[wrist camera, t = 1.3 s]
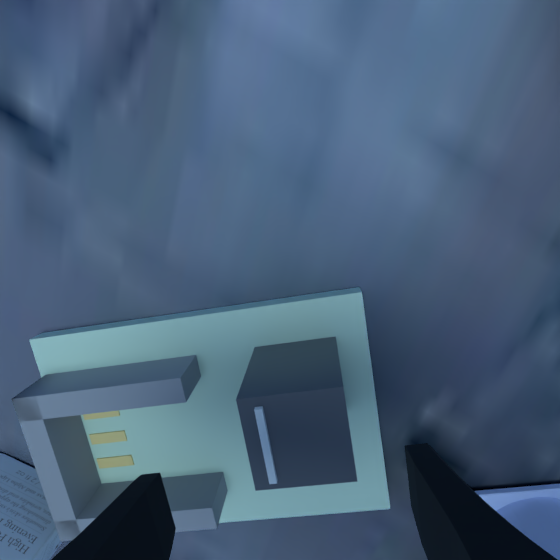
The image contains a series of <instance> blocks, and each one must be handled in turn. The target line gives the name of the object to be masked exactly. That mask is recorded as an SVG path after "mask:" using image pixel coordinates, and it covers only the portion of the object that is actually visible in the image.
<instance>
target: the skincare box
mask: <svg viewBox="0 0 560 560" xmlns="http://www.w3.org/2000/svg"><path fill="white" fill-rule="evenodd" d="M61 543H62V541H60V538H59V535H58V532H57V530H56V527H55V524H54V521H53V518H52V515H51V512H50V509H49V506H48V503H47V501H46V498H45V495H44V492H43V489H42V486H41V483H40V480H39V477H38V474H37V472H36V469H34V468H32V467H30V466H28V465H26V464H24V463H22V462H20V461H18V460H16V459H14V458H12V457H10V456H7V455H5V454H2V453H0V560H49V559H50V558H51V557H52V555H53V554H54V553H55V551H56V550H57V549H58V547H59V546H60V545H61Z"/></svg>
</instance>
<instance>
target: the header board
mask: <svg viewBox="0 0 560 560" xmlns="http://www.w3.org/2000/svg"><path fill="white" fill-rule="evenodd" d="M335 336H336V341H337V348H338V354H339V361H340V368H341V374H342V381H343V387H344V394H345V401H346V407H347V414H348V421H349V427H350V434H351V441H352V447H353V454H354V461H355V467H356V474H357V481H358V482H348V483H337V484H326V485H314V486H303V487H292V488H281V489H270V490H259V491H255V486H254V481H253V477H252V472H251V467H250V463H249V458H248V453H247V449H246V444H245V439H244V435H243V430H242V425H241V421H240V416H239V411H238V406H237V402H236V398H237V395H238V392H239V390H240V387H241V384H242V381H243V378H244V375H245V373H246V370H247V367H248V364H249V361H250V359H251V356H252V353H253V350H254V347H259V346H267V345H274V344H282V343H290V342H297V341H305V340H312V339H320V338H327V337H335ZM29 341H30V344H31V347H32V350H33V353H34V356H35V359H36V362H37V365H38V368H39V372H40V375H41V378H40V379H39V380H38V381H36V382H35V383H33V384H32V385H31V386H29V387H28V388H26V389H25V390H24V391H22V392H21V393H19V394H18V395H17V396H15V397H14V398H12V402H13V405H14V408H15V411H16V414H17V416H18V419H19V422H20V425H21V428H22V431H23V434H24V437H25V440H26V443H27V445H28V448H29V451H30V454H31V457H32V460H33V463H34V466H35V469H36V472H37V474H38V477H39V480H40V483H41V486H42V489H43V492H44V495H45V498H46V501H47V503H48V506H49V509H50V512H51V515H52V518H53V521H54V524H55V527H56V530H57V532H58V535H59V538H60V541H72V540H73V539H74V538H76V537H77V536H78V535H79V534H80V533H81V532H82V531H83V530H84V529H85V528H86V527H87V526H88V525H89V524H90V523H91V522H92V521H93V520H94V519H95V518H97V517H98V516H99V515H100V514H101V513H102V512H103V511H104V510H105V509H106V508H107V507H108V506H109V505H110V504H111V503H112V502H113V501H114V500H115V499H116V498H117V497H118V496H119V495H120V494H121V493H122V492H123V491H124V490H125V489H126V488H127V487H128V486H129V485H130V484H131V483H132V482H133V481H134V480H135V479H136V478H138V477H139V476H140V475H142V474H151V473H160V474H161V477H162V481H163V484H164V488H165V492H166V495H167V499H168V502H169V506H170V509H171V513H172V517H173V520H174V524H175V527H176V530H175V532H184V531H197V530H209V529H217V527H218V524H219V523H224V522H237V521H249V520H261V519H273V518H285V517H298V516H310V515H322V514H334V513H346V512H358V511H371V510H383V509H390V502H389V494H388V487H387V479H386V471H385V464H384V456H383V449H382V441H381V434H380V426H379V418H378V411H377V403H376V396H375V388H374V380H373V373H372V365H371V358H370V350H369V342H368V335H367V327H366V320H365V312H364V305H363V297H362V291H361V289H360V287H355V288H348V289H342V290H335V291H328V292H321V293H314V294H307V295H300V296H293V297H286V298H279V299H272V300H266V301H259V302H252V303H245V304H238V305H231V306H224V307H217V308H210V309H203V310H196V311H190V312H183V313H176V314H169V315H162V316H155V317H148V318H141V319H134V320H127V321H120V322H114V323H107V324H100V325H93V326H86V327H79V328H72V329H65V330H58V331H51V332H44V333H41V334H39V335H37V336H35V337H33V338H32V339H30V340H29Z"/></svg>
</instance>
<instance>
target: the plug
mask: <svg viewBox="0 0 560 560" xmlns="http://www.w3.org/2000/svg"><path fill="white" fill-rule="evenodd" d="M236 402H237V406H238V411H239V416H240V421H241V425H242V430H243V435H244V439H245V444H246V449H247V453H248V458H249V463H250V467H251V472H252V477H253V481H254V486H255V491H259V490H270V489H281V488H292V487H303V486H314V485H326V484H337V483H348V482H358V481H357V474H356V467H355V461H354V454H353V447H352V441H351V434H350V427H349V421H348V414H347V407H346V401H345V394H344V387H343V381H342V374H341V368H340V361H339V354H338V348H337V341H336V336H335V337H327V338H320V339H312V340H305V341H297V342H290V343H282V344H274V345H267V346H259V347H254V350H253V353H252V356H251V359H250V361H249V364H248V367H247V370H246V373H245V375H244V378H243V381H242V384H241V387H240V390H239V392H238V395H237V398H236Z"/></svg>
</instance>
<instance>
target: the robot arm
mask: <svg viewBox="0 0 560 560" xmlns="http://www.w3.org/2000/svg"><path fill="white" fill-rule="evenodd" d="M405 453H406V462H407V471H408V480H409V490H410V499H411V507H412V510H413V514H414V518H415V521H416V525H417V528H418V532H419V535H420V539H421V542H422V545H423V548H424V551H425V553H426V556H427V558H428V560H560V484H549V485H538V486H526V487H514V488H502V489H491V490H479V491H474V490H472V489H471V488H470V487H469V486H468V485H467V484H466V483H465V482H464V481H463V480H462V479H461V478H460V477H459V476H458V475H457V474H456V473H455V472H454V471H453V470H452V469H451V468H450V467H449V466H448V465H447V464H446V463H445V461H444V460H443V459H442V458H441V457H440V456H439V455H438V454H437V453H436V452H435V450H434V449H433V448H432V447H431V446H430V445H428V444H427V443H425V444H416V445H407V446H405ZM175 530H176V527H175V524H174V520H173V517H172V513H171V509H170V506H169V502H168V499H167V495H166V492H165V488H164V484H163V481H162V477H161V474H160V473H151V474H142V475H140V476H139V477H138V478H136V479H135V480H134V481H133V482H132V483H131V484H130V485H129V486H128V487H127V488H126V489H125V490H124V491H123V492H122V493H121V494H120V495H119V496H118V497H117V498H116V499H115V500H114V501H113V502H112V503H111V504H110V505H109V506H108V507H107V508H106V509H105V510H104V511H103V512H102V513H101V514H100V515H99V516H98V517H97V518H95V519H94V520H93V521H92V522H91V523H90V524H89V525H88V526H87V527H86V528H85V529H84V530H83V531H82V532H81V533H80V534H79V535H78V536H77V537H76V538H74V539H73V540H72V541H71V542H70V543H69V544H68V545H67V546H66V547H65V548H64V549H62V550H61V551H60V552H59V553H58V554H57V555H56V556H55V557H54V558H53V559H52V560H169V557H170V553H171V549H172V544H173V540H174V535H175Z"/></svg>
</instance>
